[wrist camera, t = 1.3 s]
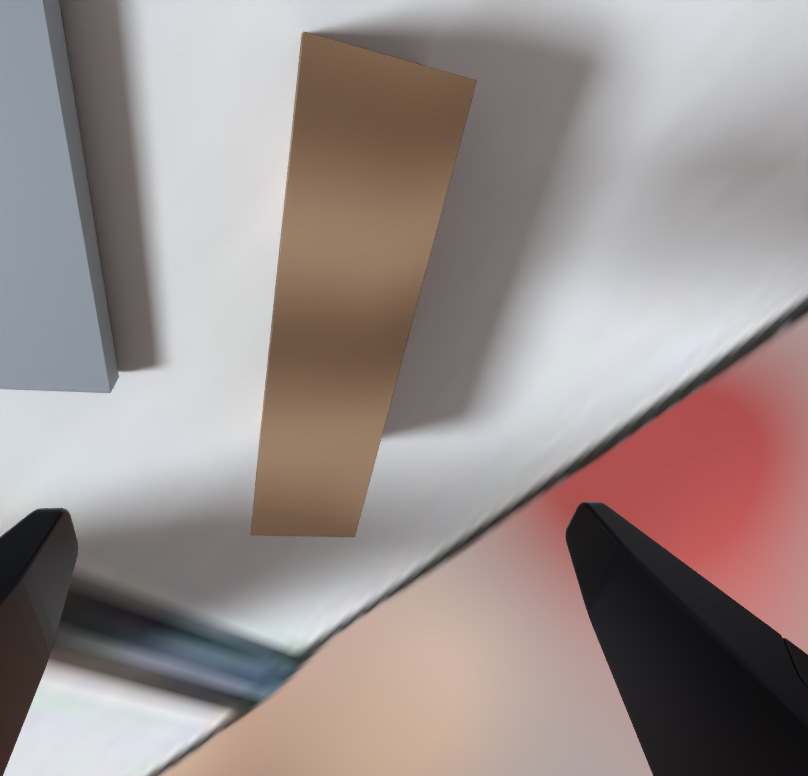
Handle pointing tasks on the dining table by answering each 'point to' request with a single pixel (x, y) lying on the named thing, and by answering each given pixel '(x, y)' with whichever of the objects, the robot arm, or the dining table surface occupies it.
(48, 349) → the bracket
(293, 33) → the dining table surface
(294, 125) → the brown wooden block
